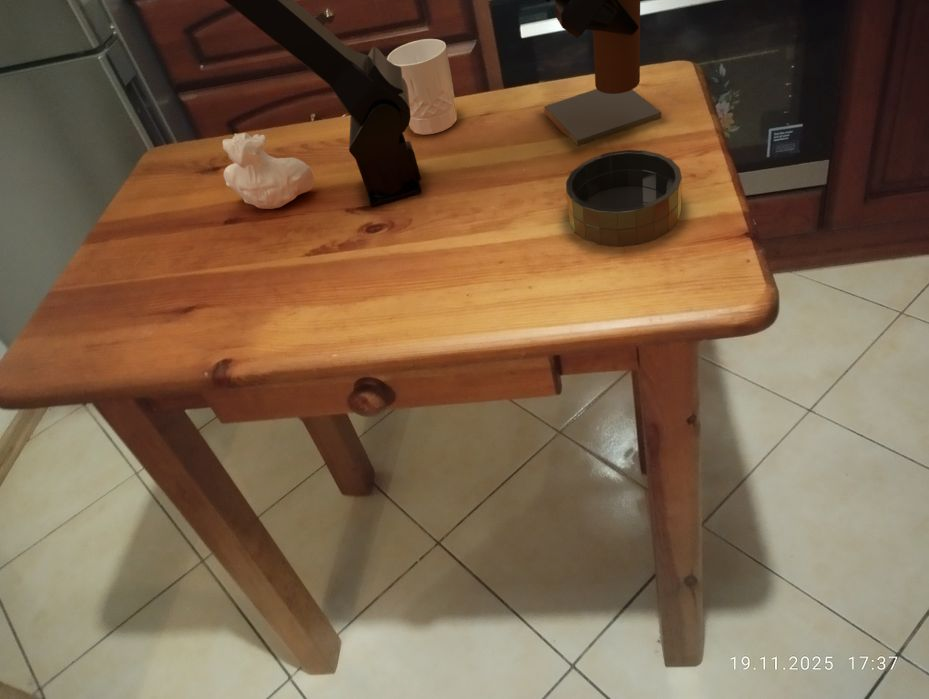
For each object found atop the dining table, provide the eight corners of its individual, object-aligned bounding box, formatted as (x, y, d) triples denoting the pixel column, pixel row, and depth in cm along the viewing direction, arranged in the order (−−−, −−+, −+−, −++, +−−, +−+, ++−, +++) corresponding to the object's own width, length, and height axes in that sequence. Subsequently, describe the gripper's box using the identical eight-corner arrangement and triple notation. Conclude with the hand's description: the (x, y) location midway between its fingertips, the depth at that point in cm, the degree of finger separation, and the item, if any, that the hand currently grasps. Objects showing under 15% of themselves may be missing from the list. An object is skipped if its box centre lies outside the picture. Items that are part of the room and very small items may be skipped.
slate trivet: (577, 149, 82) (577, 140, 81) (544, 114, 90) (543, 106, 89) (661, 121, 83) (661, 112, 82) (621, 89, 91) (621, 80, 90)
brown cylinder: (623, 97, 75) (621, -28, 66) (586, 89, 78) (580, -32, 69) (649, 76, 78) (651, -48, 68) (612, 69, 80) (610, -51, 71)
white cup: (398, 123, 97) (378, 53, 90) (448, 103, 98) (432, 33, 91) (418, 143, 91) (399, 71, 84) (470, 122, 92) (455, 49, 86)
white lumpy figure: (242, 219, 91) (187, 191, 80) (246, 164, 92) (191, 129, 81) (324, 213, 88) (278, 183, 77) (326, 157, 88) (281, 119, 78)
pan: (591, 262, 66) (588, 224, 63) (556, 205, 75) (551, 169, 71) (699, 229, 67) (701, 190, 64) (652, 176, 75) (652, 139, 72)
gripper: (589, -136, 55) (715, -24, 62) (546, -167, 69) (654, -72, 76) (509, -10, 61) (632, 79, 68) (484, -61, 75) (589, 18, 82)
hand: (628, 21), depth 73 cm, fingers closed on brown cylinder, 5 cm apart
